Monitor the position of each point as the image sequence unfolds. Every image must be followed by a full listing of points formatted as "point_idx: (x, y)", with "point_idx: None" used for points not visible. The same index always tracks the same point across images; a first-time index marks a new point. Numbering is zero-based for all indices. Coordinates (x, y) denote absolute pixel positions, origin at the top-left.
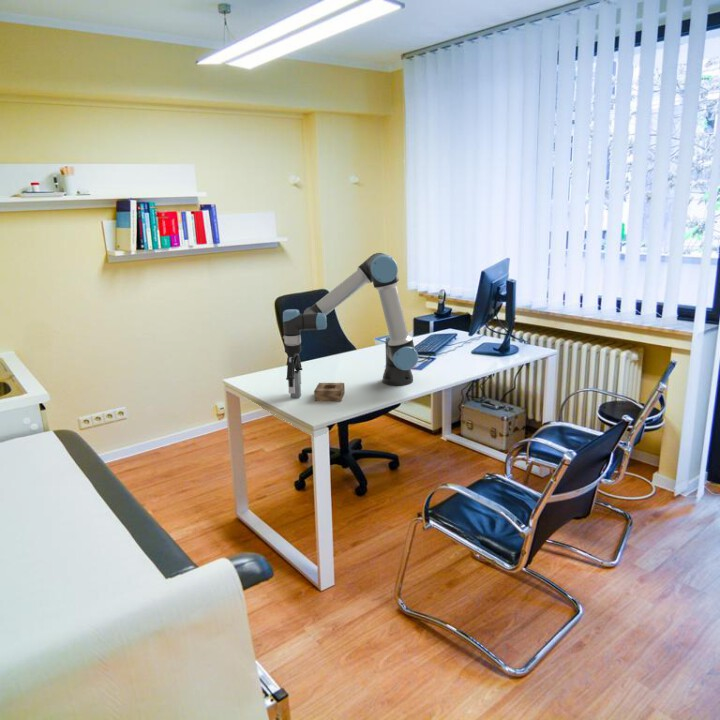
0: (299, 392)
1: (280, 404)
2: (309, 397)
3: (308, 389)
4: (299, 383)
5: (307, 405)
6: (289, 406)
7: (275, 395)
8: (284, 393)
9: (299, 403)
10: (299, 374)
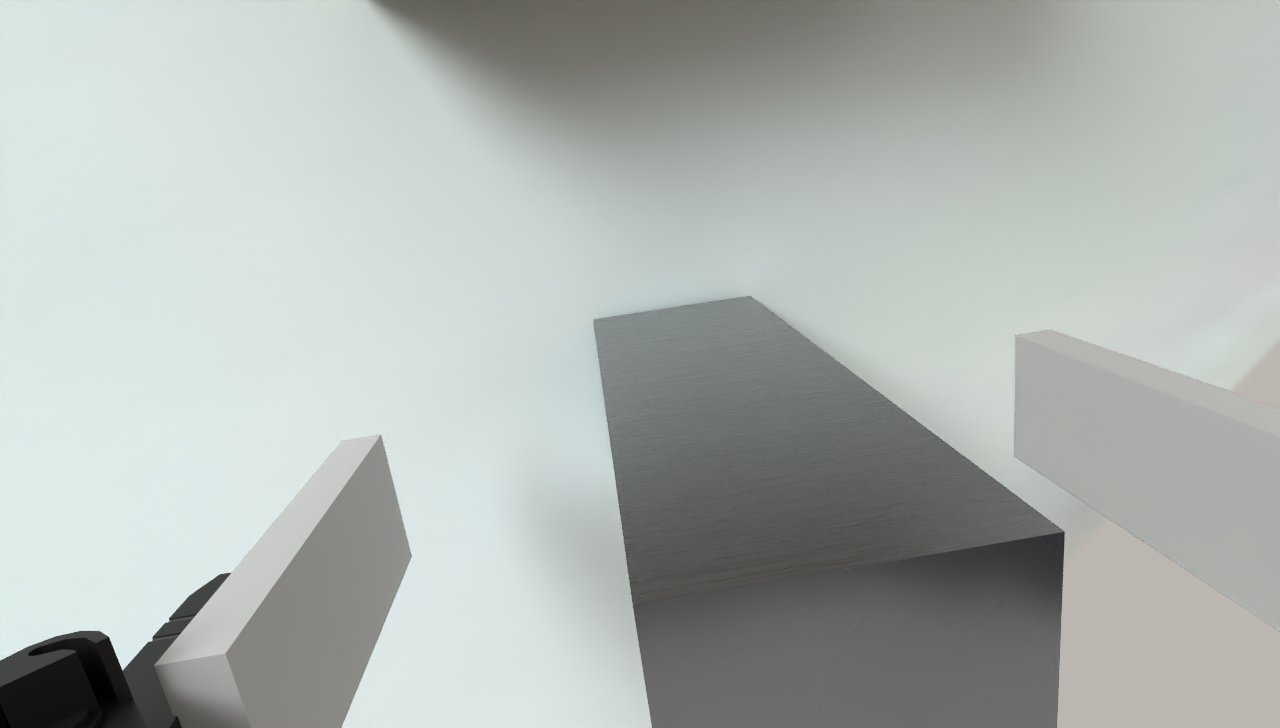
0: (729, 323)
1: (1041, 487)
2: (650, 126)
3: (173, 316)
4: (717, 386)
5: (1095, 9)
6: (1135, 316)
7: (638, 718)
8: (515, 635)
9: (991, 201)
10: (691, 511)
